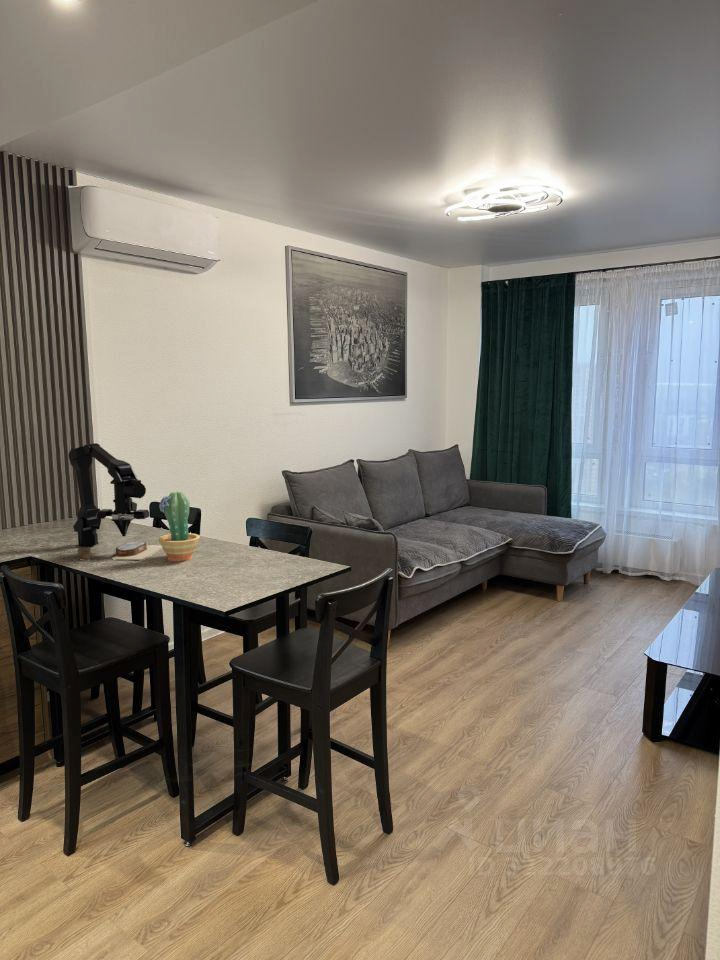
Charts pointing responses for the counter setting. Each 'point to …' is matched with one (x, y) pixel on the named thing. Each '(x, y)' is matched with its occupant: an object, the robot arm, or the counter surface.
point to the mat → (141, 554)
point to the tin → (131, 549)
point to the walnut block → (84, 553)
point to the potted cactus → (177, 528)
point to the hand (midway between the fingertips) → (124, 536)
